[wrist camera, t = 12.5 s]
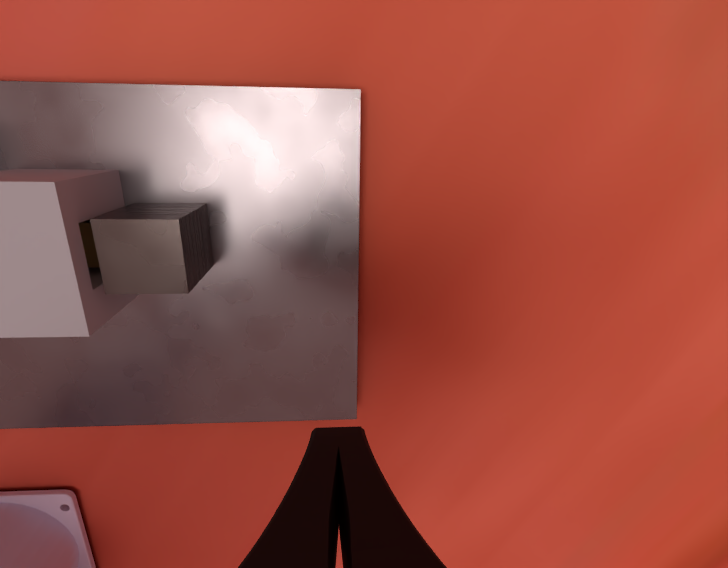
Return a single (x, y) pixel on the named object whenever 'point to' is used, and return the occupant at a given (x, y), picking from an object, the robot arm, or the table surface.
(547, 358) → the table surface
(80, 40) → the table surface
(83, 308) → the pin guide
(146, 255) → the pin
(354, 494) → the robot arm
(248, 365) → the base plate
